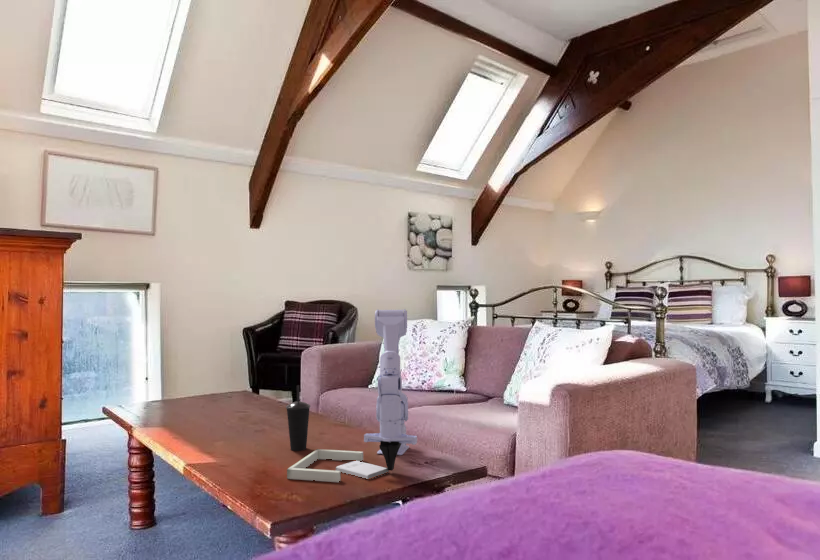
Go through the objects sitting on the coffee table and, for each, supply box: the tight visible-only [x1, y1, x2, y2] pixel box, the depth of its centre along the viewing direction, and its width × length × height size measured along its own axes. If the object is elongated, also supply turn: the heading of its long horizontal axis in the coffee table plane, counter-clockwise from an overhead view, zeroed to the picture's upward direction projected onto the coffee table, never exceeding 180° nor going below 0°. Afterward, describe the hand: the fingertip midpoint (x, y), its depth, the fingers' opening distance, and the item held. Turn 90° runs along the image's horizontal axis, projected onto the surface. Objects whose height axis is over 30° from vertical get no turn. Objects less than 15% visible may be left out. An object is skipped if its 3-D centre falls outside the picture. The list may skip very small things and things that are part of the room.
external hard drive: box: [335, 461, 390, 479], centre depth 163 cm, size 2×8×12 cm
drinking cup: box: [285, 384, 311, 452], centre depth 188 cm, size 8×8×20 cm
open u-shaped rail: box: [286, 448, 364, 483], centre depth 166 cm, size 20×14×2 cm
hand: (390, 469), depth 162 cm, fingers closed
